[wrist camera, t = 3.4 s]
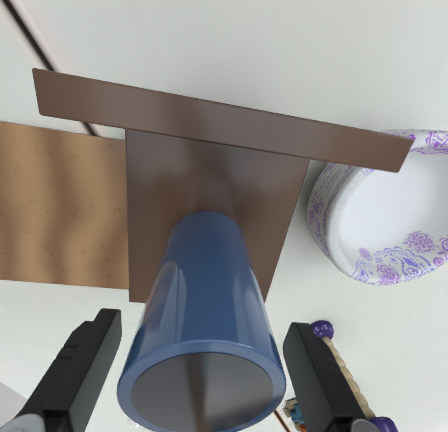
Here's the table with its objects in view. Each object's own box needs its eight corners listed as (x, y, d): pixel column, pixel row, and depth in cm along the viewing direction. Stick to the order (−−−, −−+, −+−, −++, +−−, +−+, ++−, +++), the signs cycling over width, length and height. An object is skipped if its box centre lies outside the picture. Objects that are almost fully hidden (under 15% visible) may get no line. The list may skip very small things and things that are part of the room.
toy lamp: (336, 318, 36) (430, 466, 21) (332, 337, 38) (416, 485, 22) (308, 321, 36) (381, 472, 20) (305, 340, 38) (371, 490, 22)
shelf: (155, 242, 28) (86, 397, 12) (160, 104, 21) (30, 67, 6) (246, 251, 29) (286, 401, 14) (276, 125, 23) (416, 138, 7)
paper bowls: (396, 95, 22) (486, 84, 15) (433, 203, 28) (511, 233, 21) (272, 183, 25) (297, 209, 18) (327, 264, 31) (363, 309, 24)
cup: (166, 273, 18) (118, 439, 8) (170, 205, 15) (110, 336, 6) (237, 279, 18) (265, 439, 9) (252, 216, 16) (309, 346, 7)
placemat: (-9, 276, 28) (-12, 278, 28) (-67, 110, 20) (-72, 110, 20) (146, 288, 31) (145, 291, 30) (149, 144, 23) (148, 144, 22)
